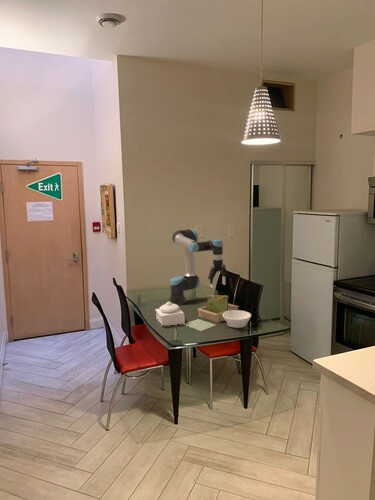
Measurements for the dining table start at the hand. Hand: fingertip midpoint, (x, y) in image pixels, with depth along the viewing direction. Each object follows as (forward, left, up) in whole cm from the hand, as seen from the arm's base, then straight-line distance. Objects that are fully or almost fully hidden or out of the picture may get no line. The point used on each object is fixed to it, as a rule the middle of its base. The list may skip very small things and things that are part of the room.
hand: (218, 286), depth 295 cm
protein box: (0, 0, -25) cm, 25 cm away
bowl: (+24, -6, -25) cm, 35 cm away
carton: (0, 0, -24) cm, 24 cm away
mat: (+4, -25, -24) cm, 35 cm away
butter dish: (-17, -36, -24) cm, 47 cm away
